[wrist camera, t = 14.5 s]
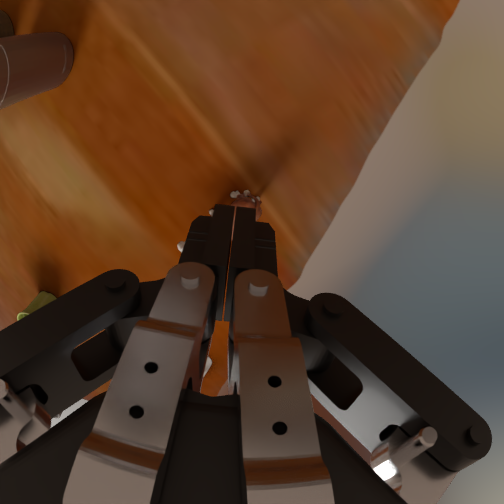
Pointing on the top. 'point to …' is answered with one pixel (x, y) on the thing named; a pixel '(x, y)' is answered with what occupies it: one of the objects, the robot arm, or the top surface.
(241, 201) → the bull figurine
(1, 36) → the wooden container
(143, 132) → the top surface
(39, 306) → the plant pot
